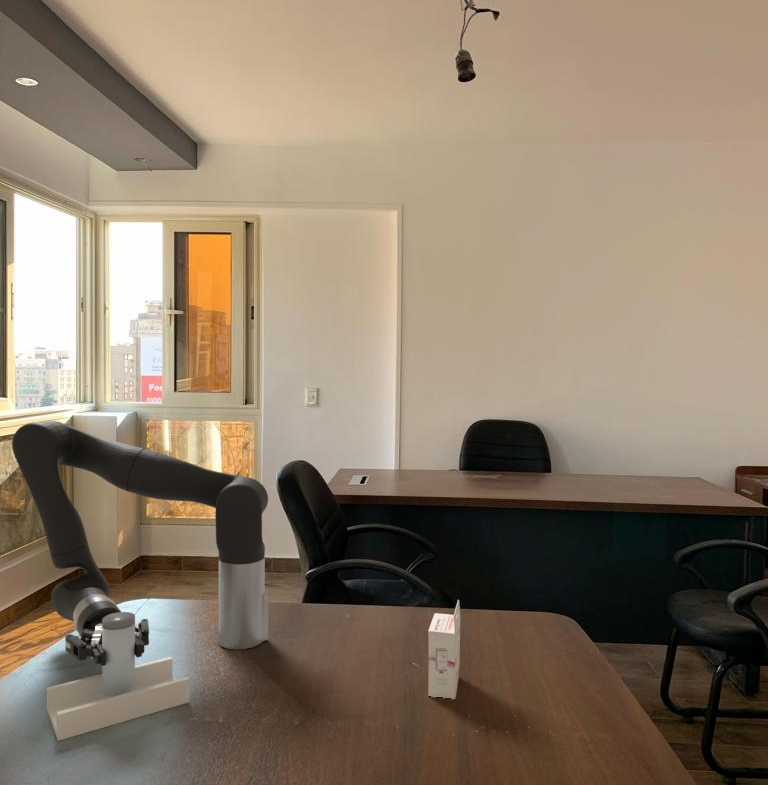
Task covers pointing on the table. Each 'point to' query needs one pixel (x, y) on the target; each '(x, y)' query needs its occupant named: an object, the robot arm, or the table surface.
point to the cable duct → (114, 699)
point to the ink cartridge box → (444, 654)
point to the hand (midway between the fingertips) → (122, 655)
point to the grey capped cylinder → (118, 653)
